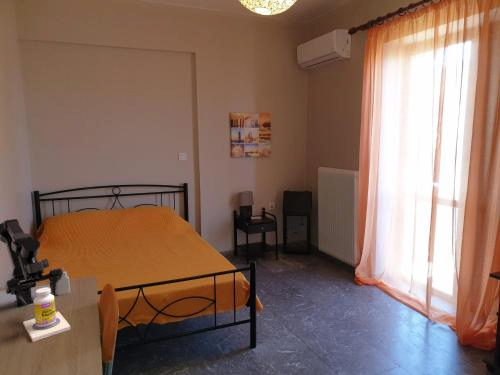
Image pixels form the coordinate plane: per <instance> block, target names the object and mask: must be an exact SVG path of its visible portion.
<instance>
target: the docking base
mask: <svg viewBox="0 0 500 375" xmlns="http://www.w3.org/2000/svg"><path fill="white" fill-rule="evenodd" d="M23 326H24V328H25V330H26V332H27V334H28V335H29V338H30V339H31V341H32V343H33V342H37V341H39V340H43V339H45V338H48V337H52V336H54V335H55V336H56V335H58V334H60V333H64V332H67V331H70V330H71V329H72V328H71V325H70V324H69V323H68V321H67V320H66V319H65V317H64V316H63V315H62V313H61V312H60V311H56V322H55V323H53V324H52V325H49V326H46V327H38V326H36V322H35V317H34V318H31V319H28V320H24V321H23Z"/></svg>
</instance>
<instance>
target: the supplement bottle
mask: <svg viewBox="0 0 500 375" xmlns="http://www.w3.org/2000/svg"><path fill="white" fill-rule="evenodd" d="M35 295H36V297H35V298H33V300H34V303H33V309H34V318H35V322H36V326H38V327H46V326H49V325H52V324H53V323H55V322H56V312H57V311H56V302H55V297H54V296H53V295H52V291H51V288H50V287H49V286H48V287H47V286H46V287H40V288H38V289H36V290H35Z"/></svg>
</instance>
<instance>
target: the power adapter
mask: <svg viewBox="0 0 500 375" xmlns="http://www.w3.org/2000/svg"><path fill="white" fill-rule="evenodd" d="M62 272H63V275H62V277H61V279H60V280H59V281H58V282H57V283H56V290H55V295H56V296H57V295H59V296H63V295H66V293H68V294H71V286H70V285H71V284H70V277H69V275H68V271H65V268H64V267H62ZM62 294H63V295H62Z"/></svg>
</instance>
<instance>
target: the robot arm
mask: <svg viewBox="0 0 500 375" xmlns="http://www.w3.org/2000/svg"><path fill="white" fill-rule="evenodd" d="M0 242H2V243H4V244H5V246H6V249H7V252H8V256H9V259H10V263H11V266H12V269H13V270H12V273H11V278H10V280H7V281H6V282H5V285H4V286H5V287H4V289H5V294H7V295H9V294H10V295H15V300H14V301H13V302H14V305H15V306H16V308H18V307H22V306H25V305H26V306H27V305H29V304H34V298H33V295H32V289H33V288H36V286H37V283H39V282H42V281H47V280H49V281H48V282H49V288H50V290H51V294H52V295H53V296H54V298H55V297H56V283H57V282H58V281H59V280H60V279H61V277H62V275H63V268H62V269H61V268H54V269H50V270H49V273H48V274H44V273H45V269H46V268H47V269H48V268H49V267H50V262H49V260H48V259H47V258H44V259H42V260H40V261H38V258H37V256H38V254H39V251H40V247H41V242H40V241H39V240H38V239H36V238H34V237H33V235H31V234H30V233H26V232H25V231H24V230H23V228H22V226H21V225H20V221H19V219H17V218H12V219H6V220H4V221H2V222H1V223H0Z"/></svg>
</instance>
